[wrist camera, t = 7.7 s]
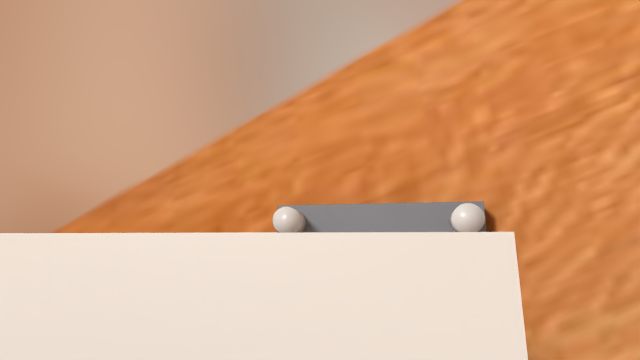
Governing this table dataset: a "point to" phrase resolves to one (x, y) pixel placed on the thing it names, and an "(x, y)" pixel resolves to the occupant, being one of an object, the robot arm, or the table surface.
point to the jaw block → (260, 296)
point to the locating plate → (382, 217)
